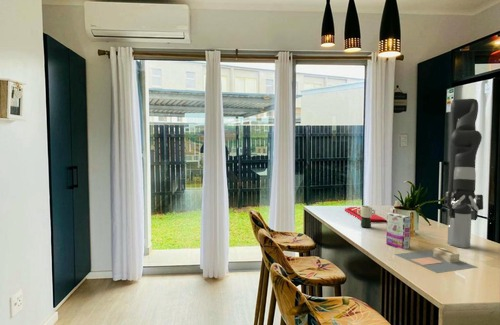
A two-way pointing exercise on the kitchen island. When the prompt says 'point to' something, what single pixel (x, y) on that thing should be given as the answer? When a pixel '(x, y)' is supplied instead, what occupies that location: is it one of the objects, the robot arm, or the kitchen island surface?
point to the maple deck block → (446, 255)
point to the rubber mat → (434, 262)
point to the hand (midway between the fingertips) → (463, 219)
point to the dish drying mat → (354, 212)
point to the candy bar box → (398, 230)
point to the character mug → (365, 215)
